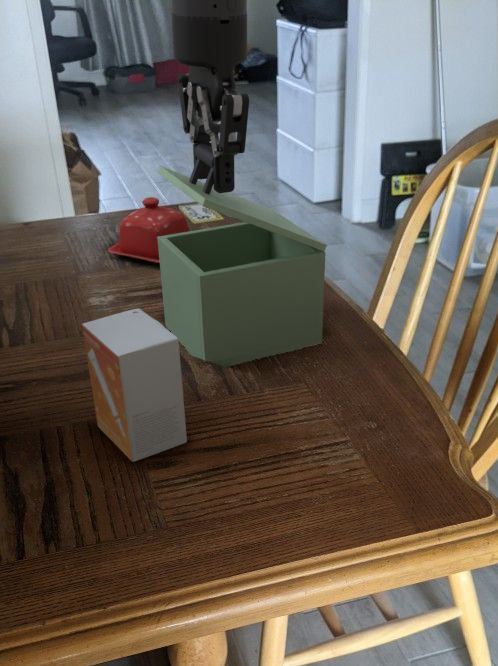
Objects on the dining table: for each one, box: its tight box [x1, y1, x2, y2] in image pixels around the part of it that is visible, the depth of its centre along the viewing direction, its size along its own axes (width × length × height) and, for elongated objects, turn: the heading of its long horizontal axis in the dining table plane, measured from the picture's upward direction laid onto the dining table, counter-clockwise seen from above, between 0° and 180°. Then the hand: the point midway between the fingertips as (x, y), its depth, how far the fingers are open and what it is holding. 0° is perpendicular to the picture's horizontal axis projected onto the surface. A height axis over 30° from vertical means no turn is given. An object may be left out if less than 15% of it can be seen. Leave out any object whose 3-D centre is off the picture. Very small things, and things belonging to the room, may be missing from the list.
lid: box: [157, 143, 328, 252], centre depth 90 cm, size 17×14×5 cm
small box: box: [81, 308, 188, 463], centre depth 76 cm, size 8×6×13 cm
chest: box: [157, 221, 326, 368], centre depth 96 cm, size 16×14×12 cm
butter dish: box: [107, 196, 191, 264], centre depth 121 cm, size 12×12×8 cm
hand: (214, 184), depth 87 cm, fingers closed on lid, 5 cm apart
